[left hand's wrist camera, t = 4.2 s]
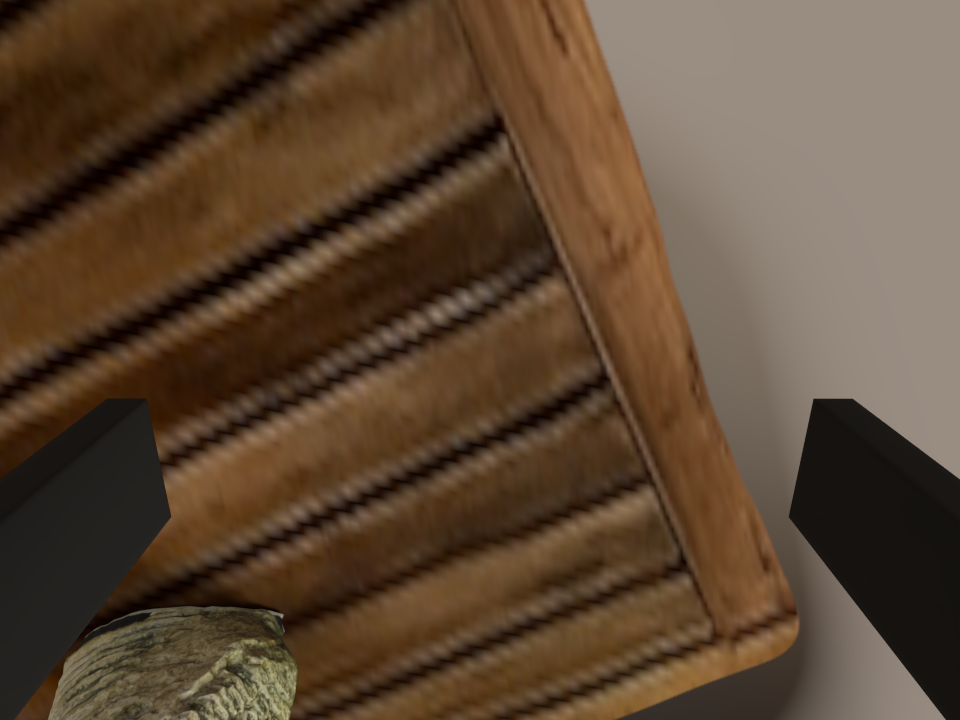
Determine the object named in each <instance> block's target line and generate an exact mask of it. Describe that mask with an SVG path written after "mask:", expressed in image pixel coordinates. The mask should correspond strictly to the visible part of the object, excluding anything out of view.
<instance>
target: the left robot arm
mask: <svg viewBox="0 0 960 720" xmlns="http://www.w3.org/2000/svg"><path fill="white" fill-rule="evenodd" d="M170 518H171V514H170V509H169V504H168V499H167V495H166V490H165V485H164V480H163V476H162V471H161V466H160V461H159V457H158V452H157V447H156V442H155V438H154V433H153V428H152V423H151V419H150V414H149V409H148V404H147V400H146V399H106V400H105V401H104V402H102V403H101V404H100V405H98V406H97V407H96V408H94V409H93V410H92V411H91V412H89V413H88V414H87V415H85V416H84V417H83V418H81V419H80V420H79V421H77V422H76V423H75V424H73V425H72V426H71V427H69V428H68V429H67V430H65V431H64V432H63V433H61V434H60V435H59V436H57V437H56V438H55V439H53V440H52V441H51V442H49V443H48V444H47V445H45V446H44V447H43V448H41V449H40V450H39V451H37V452H36V453H35V454H33V455H32V456H31V457H29V458H28V459H27V460H25V461H24V462H23V463H21V464H20V465H19V466H17V467H16V468H15V469H13V470H12V471H11V472H9V473H8V474H7V475H5V476H4V477H3V478H2V479H0V720H14V719H15V718H16V717H17V715H18V714H19V713H20V711H21V710H22V709H23V708H24V706H25V705H26V704H27V702H28V701H29V700H30V699H31V697H32V696H33V695H34V693H35V692H36V691H37V690H38V688H39V687H40V686H41V684H42V683H43V682H44V680H45V679H46V678H47V677H48V675H49V674H50V673H51V671H52V670H53V669H54V668H55V666H56V665H57V664H58V662H59V661H60V660H61V659H62V657H63V656H64V655H65V653H66V652H67V651H68V650H69V648H70V647H71V646H72V644H73V643H74V642H75V640H76V639H77V638H78V637H79V635H80V634H81V633H82V631H83V630H84V629H85V628H86V626H87V625H88V624H89V622H90V621H91V620H92V619H93V617H94V616H95V615H96V613H97V612H98V611H99V609H100V608H101V607H102V606H103V604H104V603H105V602H106V600H107V599H108V598H109V597H110V595H111V594H112V593H113V591H114V590H115V589H116V588H117V586H118V585H119V584H120V582H121V581H122V580H123V579H124V577H125V576H126V575H127V573H128V572H129V571H130V569H131V568H132V567H133V566H134V564H135V563H136V562H137V560H138V559H139V558H140V557H141V555H142V554H143V553H144V551H145V550H146V549H147V548H148V546H149V545H150V544H151V542H152V541H153V540H154V539H155V537H156V536H157V535H158V533H159V532H160V531H161V529H162V528H163V527H164V526H165V524H166V523H167V522H168V520H169V519H170ZM789 518H790V519H791V520H792V522H793V523H794V524H795V526H796V527H797V528H798V529H799V531H800V532H801V533H802V535H803V536H804V537H805V538H806V540H807V541H808V542H809V544H810V545H811V546H812V548H813V549H814V550H815V551H816V553H817V554H818V555H819V557H820V558H821V559H822V560H823V562H824V563H825V564H826V566H827V567H828V568H829V569H830V571H831V572H832V573H833V575H834V576H835V577H836V579H837V580H838V581H839V582H840V584H841V585H842V586H843V588H844V589H845V590H846V591H847V593H848V594H849V595H850V597H851V598H852V599H853V600H854V602H855V603H856V604H857V606H858V607H859V608H860V610H861V611H862V612H863V613H864V615H865V616H866V617H867V619H868V620H869V621H870V622H871V624H872V625H873V626H874V628H875V629H876V630H877V631H878V633H879V634H880V635H881V637H882V638H883V639H884V640H885V642H886V643H887V644H888V646H889V647H890V648H891V650H892V651H893V652H894V653H895V655H896V656H897V657H898V659H899V660H900V661H901V662H902V664H903V665H904V666H905V668H906V669H907V670H908V671H909V673H910V674H911V675H912V677H913V678H914V679H915V681H916V682H917V683H918V684H919V686H920V687H921V688H922V690H923V691H924V692H925V693H926V695H927V696H928V697H929V699H930V700H931V701H932V702H933V704H934V705H935V706H936V708H937V709H938V710H939V711H940V713H941V714H942V715H943V717H944V718H945V719H946V720H960V479H958V478H957V477H956V476H954V475H953V474H952V473H951V472H949V471H948V470H947V469H945V468H944V467H943V466H941V465H940V464H939V463H937V462H936V461H935V460H933V459H932V458H931V457H929V456H928V455H927V454H925V453H924V452H923V451H921V450H920V449H919V448H917V447H916V446H915V445H913V444H912V443H911V442H909V441H908V440H907V439H905V438H904V437H903V436H901V435H900V434H899V433H897V432H896V431H895V430H893V429H892V428H891V427H889V426H888V425H887V424H885V423H884V422H883V421H881V420H880V419H879V418H877V417H876V416H875V415H873V414H872V413H871V412H869V411H868V410H867V409H866V408H864V407H863V406H862V405H860V404H859V403H857V402H856V401H855V400H854V399H814V400H813V404H812V409H811V414H810V419H809V423H808V428H807V433H806V438H805V442H804V447H803V452H802V457H801V461H800V466H799V471H798V476H797V480H796V485H795V490H794V495H793V499H792V504H791V509H790V514H789Z"/></svg>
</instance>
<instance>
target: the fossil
mask: <svg viewBox="0 0 960 720" xmlns="http://www.w3.org/2000/svg"><path fill="white" fill-rule="evenodd" d="M282 618H283V614H280V613H276V612H273V611H269V610H264V609H246V608H238V607H217V606H211V607H206V608H202V607H193V606H184V607H171V608H158V609H150V610H142V611H138V612H134V613H131V614H128V615H126V616H124V617H121V618H118V619H115V620H113V621H112V622H110V623H109V624H107V625H103V626H100V627H98V628H96V629H95V630H93V631H92V632H91V633H89V634H88V635H87V636H86V637H85V639H84V640H83V642H82V644H81V645H80V646H79V648H78V649H77V650H76V651H74V652H73V653H72V654H71V655H70V656H68V657H67V658H66V660H65V663H64V667H63V675H62V678H61V679H60V680H59V682H58V689H57V691H56V696H55V699H54V701H53V706H52V709H51V710H50V715H49V719H48V720H289V717H290V712H291V708H292V704H293V701H294V696H295V689H296V684H297V670H298V668H297V665H296V661H295V658H294V656H293V655H292V654H291V653H290V651H289V649H288V648H287V646H286V645H285V643H284V642H283V641H282V635H283V634H284V632H285V631H284V628H283V625H282Z"/></svg>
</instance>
